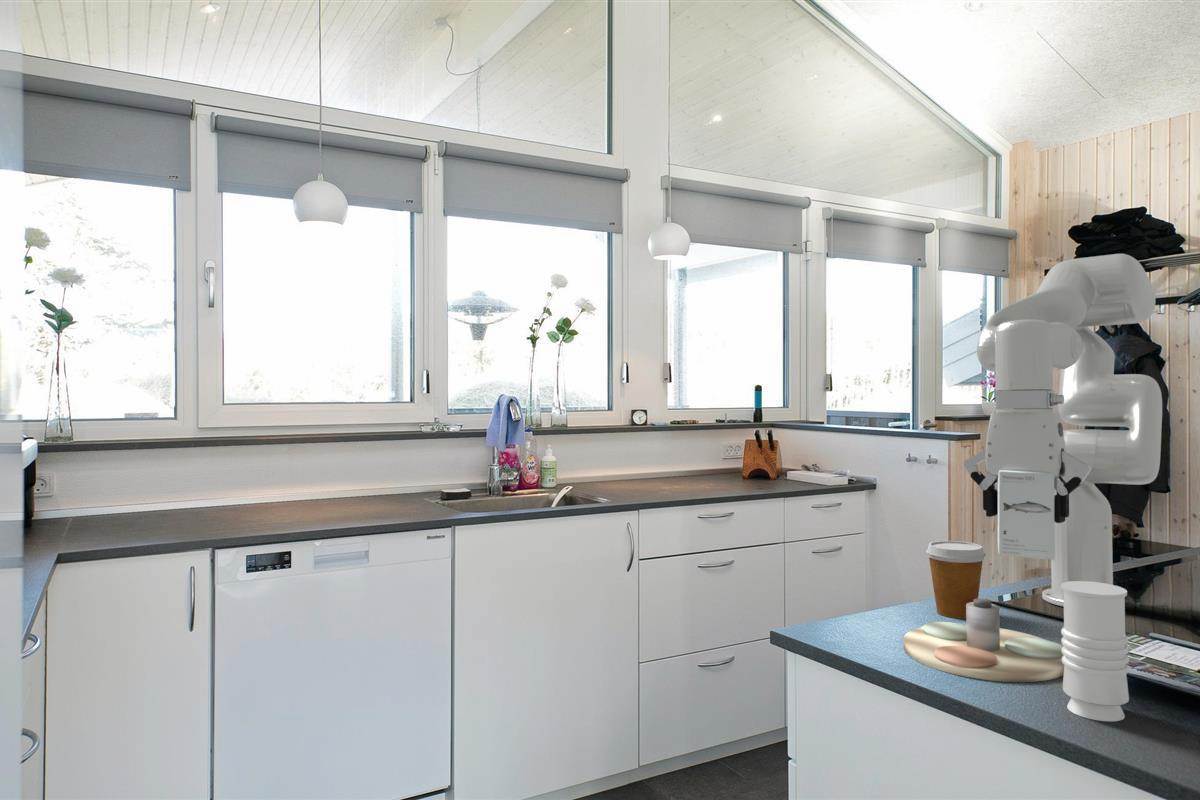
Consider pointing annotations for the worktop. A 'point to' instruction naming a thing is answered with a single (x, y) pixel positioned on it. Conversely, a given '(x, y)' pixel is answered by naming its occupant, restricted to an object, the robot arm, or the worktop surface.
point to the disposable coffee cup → (955, 575)
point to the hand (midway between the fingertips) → (1024, 518)
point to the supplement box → (1026, 514)
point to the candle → (1095, 649)
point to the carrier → (984, 648)
